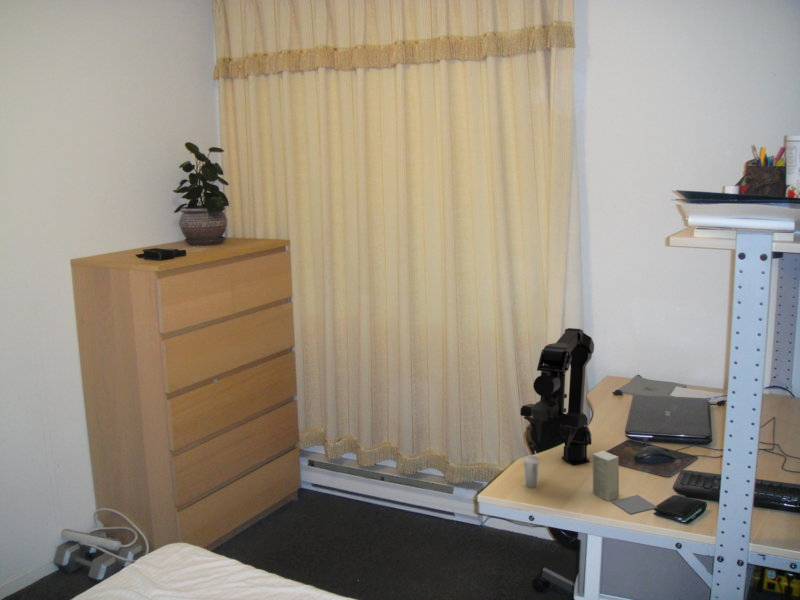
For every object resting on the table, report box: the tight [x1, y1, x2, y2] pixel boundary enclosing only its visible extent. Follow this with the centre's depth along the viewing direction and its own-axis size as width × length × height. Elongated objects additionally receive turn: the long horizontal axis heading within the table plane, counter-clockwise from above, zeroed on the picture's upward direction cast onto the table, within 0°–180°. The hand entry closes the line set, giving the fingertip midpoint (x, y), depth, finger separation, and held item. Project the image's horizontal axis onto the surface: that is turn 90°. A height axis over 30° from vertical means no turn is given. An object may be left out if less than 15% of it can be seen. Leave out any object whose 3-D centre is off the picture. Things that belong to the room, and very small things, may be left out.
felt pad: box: [610, 494, 658, 515], centre depth 191 cm, size 9×8×1 cm
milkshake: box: [523, 454, 543, 489], centre depth 204 cm, size 4×5×10 cm
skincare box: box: [591, 450, 620, 502], centre depth 196 cm, size 6×4×12 cm
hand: (551, 444), depth 198 cm, fingers open, 9 cm apart
